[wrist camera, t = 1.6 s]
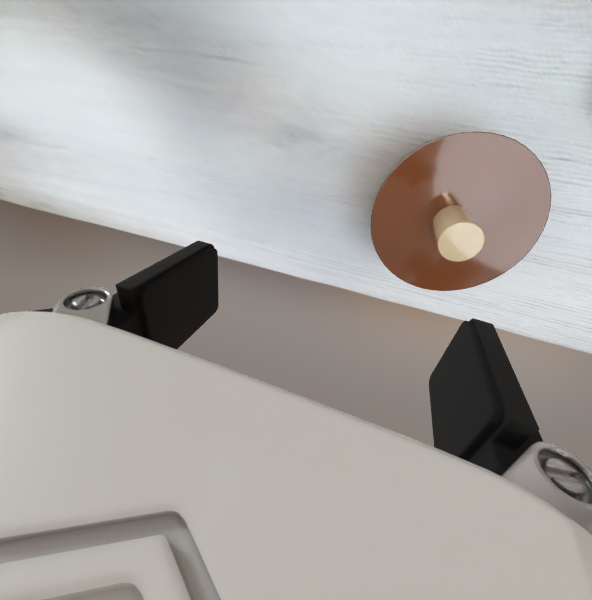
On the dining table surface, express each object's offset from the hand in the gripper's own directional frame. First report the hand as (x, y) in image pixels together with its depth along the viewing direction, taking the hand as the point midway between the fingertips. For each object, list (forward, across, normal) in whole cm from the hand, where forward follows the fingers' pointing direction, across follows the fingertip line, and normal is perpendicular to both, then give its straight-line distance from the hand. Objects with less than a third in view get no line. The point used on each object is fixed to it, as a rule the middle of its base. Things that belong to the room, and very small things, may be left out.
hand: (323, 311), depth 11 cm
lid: (+19, -7, 0) cm, 21 cm away
